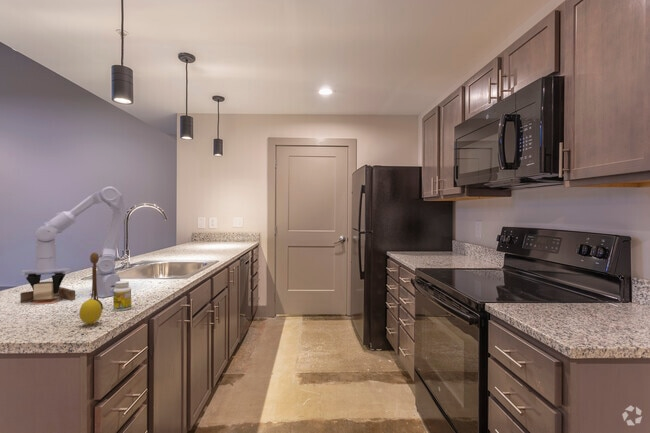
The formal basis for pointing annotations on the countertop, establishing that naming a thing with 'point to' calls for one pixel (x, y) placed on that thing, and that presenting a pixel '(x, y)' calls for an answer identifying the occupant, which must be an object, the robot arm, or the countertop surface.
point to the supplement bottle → (122, 296)
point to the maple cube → (44, 290)
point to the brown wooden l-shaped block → (63, 293)
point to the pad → (46, 301)
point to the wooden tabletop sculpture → (94, 277)
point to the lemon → (90, 311)
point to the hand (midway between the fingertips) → (46, 293)
